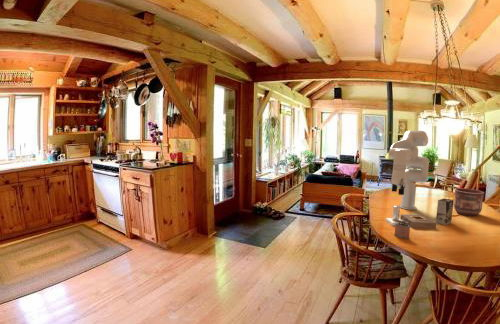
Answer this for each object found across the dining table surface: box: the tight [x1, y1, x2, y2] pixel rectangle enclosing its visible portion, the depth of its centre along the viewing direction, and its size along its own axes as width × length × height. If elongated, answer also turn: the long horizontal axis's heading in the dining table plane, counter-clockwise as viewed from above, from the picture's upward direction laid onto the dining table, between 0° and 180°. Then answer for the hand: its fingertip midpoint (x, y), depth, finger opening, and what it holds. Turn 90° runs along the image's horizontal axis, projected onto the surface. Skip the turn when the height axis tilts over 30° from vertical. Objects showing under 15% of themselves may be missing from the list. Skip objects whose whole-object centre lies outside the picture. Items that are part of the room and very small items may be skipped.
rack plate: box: [399, 213, 438, 229], centre depth 184 cm, size 16×15×4 cm
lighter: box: [394, 220, 411, 240], centre depth 162 cm, size 8×3×10 cm, turn 44°
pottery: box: [453, 188, 485, 217], centre depth 207 cm, size 18×18×18 cm
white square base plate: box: [385, 217, 402, 227], centre depth 186 cm, size 10×9×2 cm
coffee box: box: [435, 198, 455, 226], centre depth 186 cm, size 9×6×16 cm
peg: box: [391, 205, 401, 221], centre depth 185 cm, size 4×4×10 cm
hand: (397, 193), depth 183 cm, fingers open, 9 cm apart
